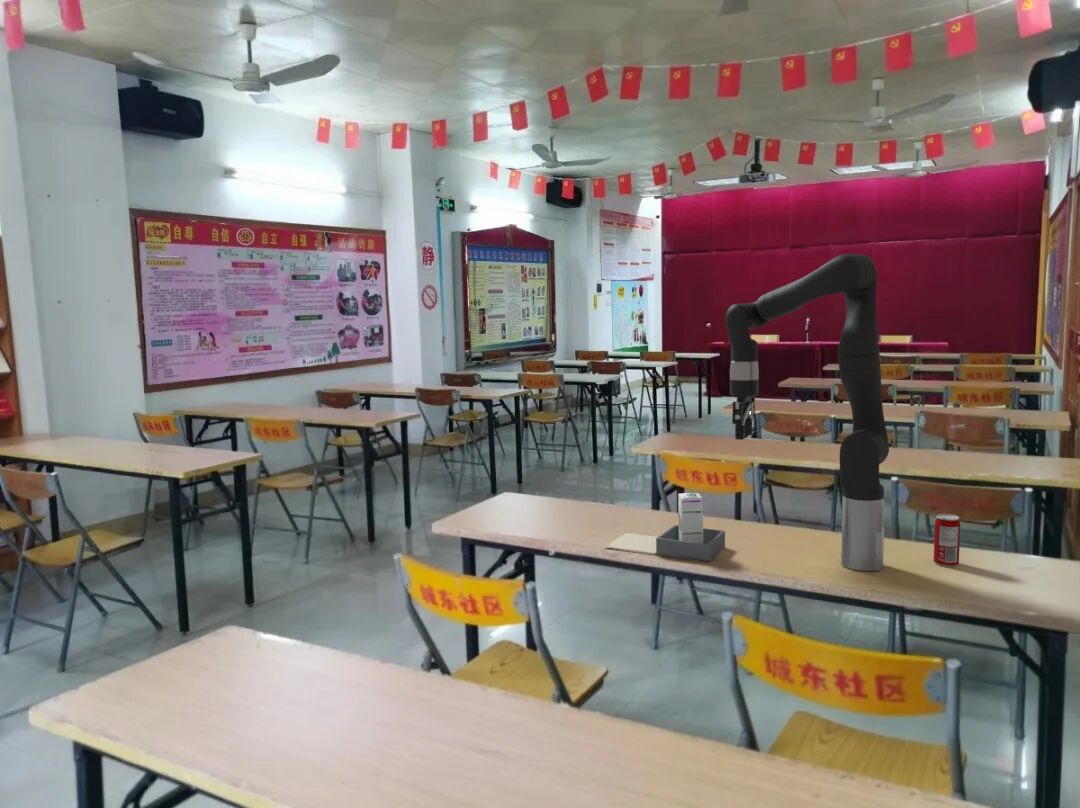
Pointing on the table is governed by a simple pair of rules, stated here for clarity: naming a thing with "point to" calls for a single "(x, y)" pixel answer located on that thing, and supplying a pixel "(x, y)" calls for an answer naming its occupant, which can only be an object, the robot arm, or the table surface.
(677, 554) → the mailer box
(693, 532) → the syrup box
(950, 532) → the soda can
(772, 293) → the robot arm
